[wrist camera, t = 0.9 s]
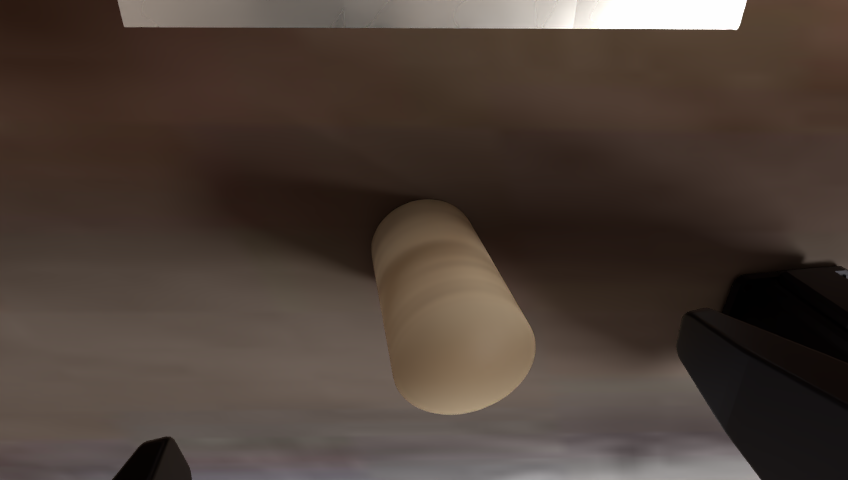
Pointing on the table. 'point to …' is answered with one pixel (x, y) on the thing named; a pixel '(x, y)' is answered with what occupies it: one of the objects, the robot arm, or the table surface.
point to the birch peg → (447, 311)
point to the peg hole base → (435, 13)
